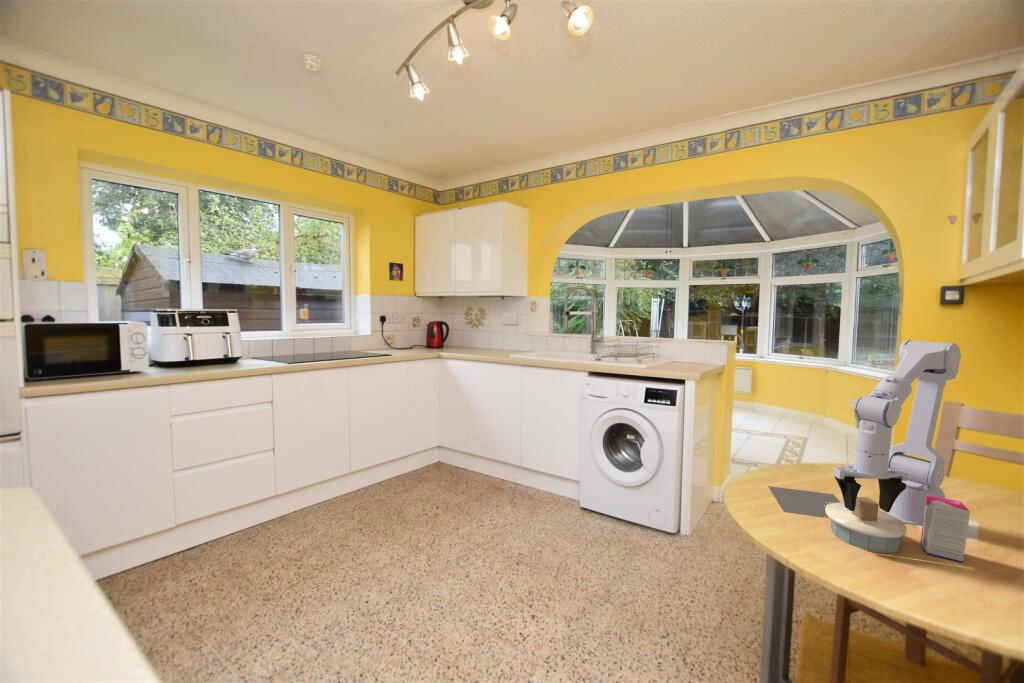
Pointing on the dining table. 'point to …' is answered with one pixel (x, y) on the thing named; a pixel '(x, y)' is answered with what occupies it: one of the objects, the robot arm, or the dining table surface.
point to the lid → (866, 519)
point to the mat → (803, 501)
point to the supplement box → (945, 528)
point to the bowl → (865, 540)
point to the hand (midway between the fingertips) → (866, 509)
